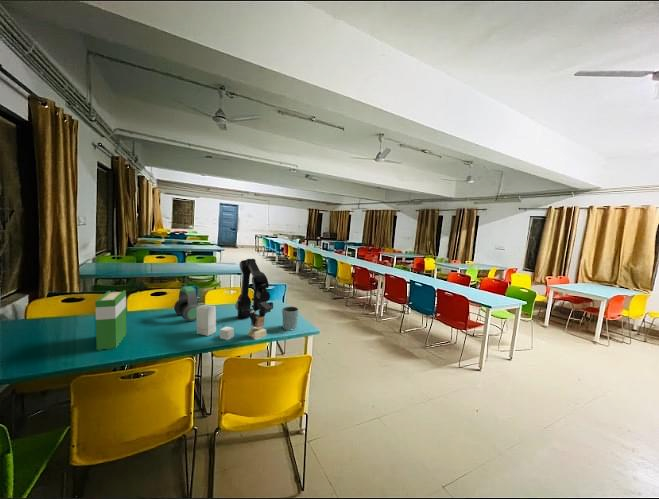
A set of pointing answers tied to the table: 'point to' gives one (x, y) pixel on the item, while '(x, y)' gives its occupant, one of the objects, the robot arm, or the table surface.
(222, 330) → the grey cube
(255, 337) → the maple block
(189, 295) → the headphones
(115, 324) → the hardback book
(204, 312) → the skincare box
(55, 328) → the table surface
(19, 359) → the table surface
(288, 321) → the grey cup
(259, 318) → the walnut cube
